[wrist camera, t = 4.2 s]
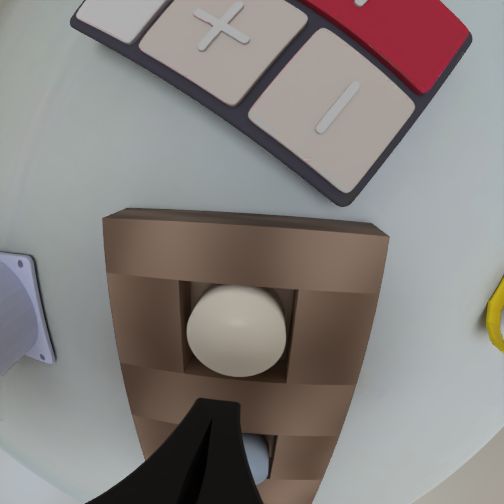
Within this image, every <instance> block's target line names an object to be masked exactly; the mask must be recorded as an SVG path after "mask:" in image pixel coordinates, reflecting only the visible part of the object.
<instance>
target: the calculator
mask: <svg viewBox="0 0 504 504" xmlns="http://www.w3.org/2000/svg"><path fill="white" fill-rule="evenodd" d="M70 25H71V27H72V28H74V29H76V30H78V31H79V32H81V33H83V34H85V35H87V36H89V37H91V38H93V39H94V40H96V41H98V42H100V43H102V44H104V45H106V46H107V47H109V48H111V49H113V50H115V51H116V52H118V53H120V54H122V55H123V56H125V57H127V58H129V59H130V60H132V61H134V62H135V63H137V64H139V65H140V66H142V67H144V68H145V69H147V70H149V71H150V72H152V73H154V74H155V75H157V76H159V77H160V78H162V79H163V80H165V81H167V82H168V83H170V84H171V85H173V86H175V87H176V88H178V89H179V90H181V91H182V92H184V93H185V94H187V95H189V96H190V97H192V98H193V99H195V100H196V101H198V102H199V103H201V104H202V105H204V106H205V107H207V108H208V109H210V110H211V111H213V112H214V113H215V114H217V115H218V116H220V117H221V118H223V119H224V120H226V121H227V122H228V123H230V124H231V125H233V126H234V127H236V128H237V129H238V130H240V131H241V132H243V133H244V134H245V135H247V136H248V137H249V138H251V139H252V140H254V141H255V142H256V143H258V144H259V145H260V146H262V147H263V148H264V149H266V150H267V151H268V152H270V153H271V154H272V155H274V156H275V157H276V158H278V159H279V160H280V161H282V162H283V163H284V164H285V165H287V166H288V167H289V168H291V169H292V170H293V171H294V172H296V173H297V174H298V175H300V176H301V177H302V178H303V179H305V180H306V181H307V182H308V183H310V184H311V185H312V186H313V187H315V188H316V189H317V190H318V191H319V192H321V193H322V194H323V195H324V196H326V197H327V198H328V199H329V200H331V201H332V202H333V203H335V204H336V205H338V206H341V207H345V206H348V205H350V204H351V203H352V202H353V201H354V199H355V198H356V197H357V196H358V195H359V193H360V192H361V191H362V190H363V188H364V187H365V186H366V185H367V183H368V182H369V181H370V179H371V178H372V177H373V176H374V174H375V173H376V172H377V171H378V169H379V168H380V167H381V166H382V164H383V163H384V162H385V160H386V159H387V158H388V157H389V155H390V154H391V153H392V151H393V150H394V149H395V148H396V146H397V145H398V144H399V142H400V141H401V140H402V138H403V137H404V136H405V134H406V133H407V132H408V131H409V129H410V128H411V127H412V125H413V124H414V123H415V121H416V120H417V119H418V117H419V116H420V115H421V113H422V112H423V110H424V109H425V108H426V106H427V105H428V104H429V102H430V101H431V100H432V98H433V97H434V96H435V94H436V93H437V91H438V90H439V89H440V87H441V86H442V84H443V83H444V82H445V80H446V79H447V77H448V76H449V75H450V73H451V72H452V70H453V69H454V68H455V66H456V65H457V63H458V62H459V60H460V59H461V58H462V56H463V55H464V53H465V52H466V50H467V49H468V47H469V46H470V44H471V43H472V35H471V33H470V32H469V30H468V29H467V27H466V26H465V25H464V24H463V23H462V22H461V21H460V20H459V19H458V18H457V17H456V16H455V15H454V14H453V13H452V12H451V11H450V10H449V9H448V8H447V7H446V6H445V5H444V4H443V3H442V2H441V1H440V0H84V1H83V2H82V4H81V5H80V6H79V8H78V9H77V10H76V12H75V13H74V15H73V16H72V18H71V20H70Z"/></svg>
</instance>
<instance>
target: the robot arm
mask: <svg viewBox="0 0 504 504" xmlns="http://www.w3.org/2000/svg"><path fill="white" fill-rule="evenodd" d="M21 261H22V262H21ZM22 263H23V264H22ZM23 355H24V356H27V357H30V358H33V359H36V360H39V361H42V362H45V363H48V364H53V363H54V362H55V356H54V353H53V349H52V346H51V342H50V338H49V334H48V331H47V327H46V323H45V318H44V314H43V310H42V305H41V300H40V295H39V290H38V285H37V280H36V274H35V268H34V262H33V260H32V258H31V257H30V256H28V255H21V254H12V253H4V252H0V377H1V376H3V375H4V374H5V373H6V372H7V371H8V370H9V369H10V368H11V367H12V366H13V365H14V364H15V363H16V362H17V361H18V360H19V359H20V358H21V357H22V356H23ZM240 415H241V404H239V403H238V402H234V401H224V400H216V399H207V398H198V399H196V401H195V402H194V404H193V406H192V407H191V409H190V410H189V411H188V413H187V414H186V416H185V417H184V418H183V420H182V421H181V422H180V424H179V425H178V426H177V427H176V429H175V430H174V431H173V432H172V433H171V434H170V436H169V437H168V438H167V439H166V440H165V441H164V442H163V444H162V445H161V446H160V447H159V448H158V449H157V450H156V451H155V452H154V453H153V454H152V455H151V456H150V457H149V458H148V459H147V460H146V461H145V462H144V463H142V464H141V465H140V466H139V467H138V468H137V469H136V470H135V471H133V472H132V473H131V474H130V475H128V476H127V477H126V478H125V479H123V480H122V481H121V482H119V483H118V484H116V485H115V486H113V487H112V488H111V489H109V490H108V491H106V492H105V493H103V494H101V495H100V496H98V497H96V498H95V499H93V500H91V501H89V502H87V503H85V504H264V503H263V501H262V499H261V496H260V494H259V492H258V489H257V487H256V484H255V481H254V478H253V475H252V472H251V469H250V466H249V463H248V459H247V455H246V451H245V447H244V443H243V438H242V431H241V423H240Z"/></svg>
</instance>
